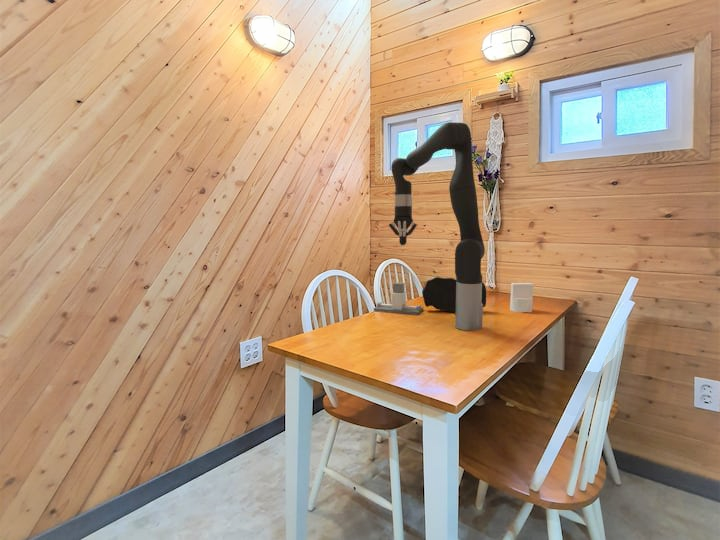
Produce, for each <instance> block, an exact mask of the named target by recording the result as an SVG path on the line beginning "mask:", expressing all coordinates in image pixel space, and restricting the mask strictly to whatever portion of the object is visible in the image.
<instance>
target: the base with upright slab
mask: <svg viewBox="0 0 720 540" xmlns="http://www.w3.org/2000/svg"><path fill="white" fill-rule="evenodd" d="M533 297H534V283H532V282H511V283H510V300H509V301H510V302H509V303H510V305H509V310H510V311H511V312H513V311H514V312H515V313H519V312H530V313H532V312H533V299H534V298H533ZM514 312H513V313H514Z"/></svg>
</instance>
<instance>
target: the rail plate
mask: <svg viewBox="0 0 720 540" xmlns="http://www.w3.org/2000/svg"><path fill="white" fill-rule="evenodd" d="M379 311H385V312H384V313H390V312H393V313H394V314H402V313H403V314H405V315H412V316H413V315H417V316H418V315H420V314H421V313H422V312H423V311H424V307H423V306H421V304H417V305H415V306H414V305H406V306H405V305H403V306H402V310H397V309H392V303H383V302H382V301H378V302H377V303H376V306H375V307H374V308H373V312H379ZM393 313H392V314H393Z"/></svg>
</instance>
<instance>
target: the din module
mask: <svg viewBox="0 0 720 540" xmlns="http://www.w3.org/2000/svg"><path fill="white" fill-rule="evenodd" d="M405 285H406V284H405V282H394V283H392V293H391V304H392V309H397V310H402V306H403V305H405V306H407V305H406V301H407V300H406V299H407V297H406V296H407V295H406V293H407V291H405V289H406V288H405Z"/></svg>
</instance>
